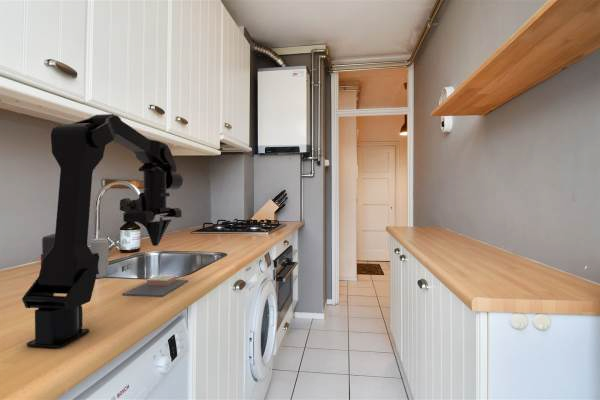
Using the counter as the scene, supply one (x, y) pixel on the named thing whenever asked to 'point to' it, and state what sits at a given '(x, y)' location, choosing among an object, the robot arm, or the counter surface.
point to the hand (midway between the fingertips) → (155, 245)
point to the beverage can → (101, 255)
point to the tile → (161, 280)
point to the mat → (154, 289)
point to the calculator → (47, 245)
